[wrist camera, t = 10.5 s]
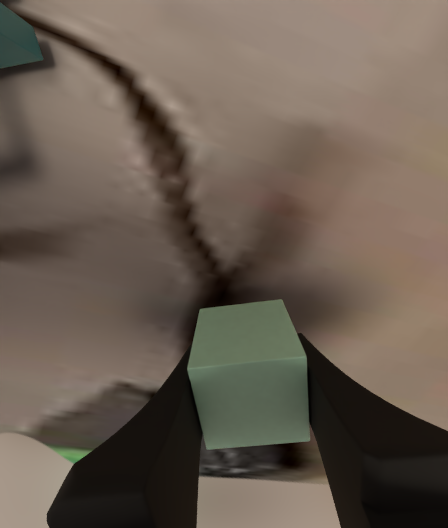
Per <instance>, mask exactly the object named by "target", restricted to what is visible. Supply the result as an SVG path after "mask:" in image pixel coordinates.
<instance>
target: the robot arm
mask: <svg viewBox="0 0 448 528" xmlns="http://www.w3.org/2000/svg"><path fill="white" fill-rule="evenodd" d="M297 335H298V337H299V340H300V342H301V344H302V347H303V349H304V351H305V354H306V356H307V376H308V401H309V422H310V425H311V427H312V430H313V432H314V435H315V438H316V441H317V444H318V447H319V451H320V454H321V457H322V461H323V464H324V468H325V471H326V475H327V478H328V482H329V485H330V489H331V492H332V496H333V500H334V503H335V507H336V511H337V514H338V518H339V521H340V525H341V528H448V431H446V430H444V429H442V428H439V427H437V426H435V425H433V424H431V423H428V422H426V421H424V420H422V419H419V418H417V417H415V416H413V415H411V414H409V413H407V412H405V411H403V410H402V409H400V408H398V407H396V406H394V405H392V404H390V403H389V402H387V401H385V400H383V399H382V398H380V397H378V396H377V395H375V394H373V393H372V392H370V391H369V390H367V389H366V388H364V387H363V386H361V385H360V384H358V383H357V382H355V381H354V380H353V379H351V378H350V377H349V376H347V375H346V374H345V373H343V372H342V371H341V370H340V369H339V368H337V367H336V366H335V365H334V364H333V363H331V362H330V361H329V360H328V359H327V358H326V357H325V356H324V355H323V354H321V353H320V352H319V351H318V350H317V349H316V348H315V347H314V346H313V345H312V344H311V343H310V342H309V341H308V340H307V339H306V338H305V336H304V335H303V334H301V333H298V334H297ZM191 349H192V345H190V346H189V348H188V349H187V351H186V352H185V354H184V355H183V357H182V359H181V360H180V362H179V363H178V365H177V366H176V368H175V369H174V370H173V372H172V373H171V375H170V376H169V377H168V379H167V380H166V381H165V383H164V384H163V385H162V386H161V388H160V389H159V390H158V392H157V393H156V394H155V395H154V396H153V397H152V399H151V400H150V401H149V402H148V403H147V404H146V405H145V406H144V407H143V408H142V409H141V410H140V411H139V412H138V413H137V414H136V415H135V416H134V417H133V418H132V419H131V420H130V421H129V422H128V423H127V424H125V425H124V426H123V427H122V428H121V429H120V430H119V431H117V432H116V433H115V434H114V435H113V436H111V437H110V438H109V439H108V440H106V441H105V442H104V443H103V444H101V445H100V446H99V447H97V448H96V449H94V450H93V451H92V452H90V453H89V454H87V455H86V456H85V457H83V458H82V459H81V460H79V461H78V462H76V463H75V464H74V465H73V466H72V468H71V470H70V471H69V473H68V475H67V476H66V479H65V480H64V482H63V484H62V486H61V488H60V490H59V492H58V494H57V496H56V498H55V499H54V501H53V503H52V505H51V507H50V509H49V511H48V513H47V523H48V526H49V528H196V524H197V499H198V478H199V461H200V448H201V440H202V433H203V432H202V428H201V424H200V420H199V416H198V411H197V407H196V403H195V399H194V395H193V391H192V387H191V383H190V379H189V374H188V370H187V367H188V363H189V358H190V353H191Z"/></svg>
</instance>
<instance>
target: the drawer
mask: <svg viewBox="0 0 448 528" xmlns="http://www.w3.org/2000/svg"><path fill="white" fill-rule="evenodd" d="M42 60H43V56H42V53H41V50H40V47H39V44H38V41H37V38H36V34H35V31H34V28H33V27H32V26H31V25H30V24H28V23H27V22H26V21H24V20H23V19H22V18H20V17H19V16H18V15H16V14H15V13H14V12H12V11H11V10H10V9H8V8H7V7H6V6H4V5H3V4H2V3H0V68H6V67H11V66H16V65H21V64H26V63H31V62H36V61H42Z"/></svg>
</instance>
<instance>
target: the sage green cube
mask: <svg viewBox="0 0 448 528" xmlns="http://www.w3.org/2000/svg"><path fill="white" fill-rule="evenodd" d="M187 370H188V374H189V379H190V383H191V387H192V391H193V395H194V399H195V403H196V407H197V411H198V416H199V420H200V424H201V428H202V432H203V436H204V440H205V444H206V448H207V449H220V448H232V447H244V446H256V445H268V444H280V443H292V442H304V441H310V426H309V401H308V376H307V356H306V354H305V351H304V349H303V347H302V344H301V342H300V340H299V337H298V335H297V333H296V330H295V328H294V326H293V324H292V321H291V319H290V317H289V314H288V312H287V310H286V307H285V305H284V303H283V300H282V299H278V300H270V301H262V302H253V303H245V304H237V305H228V306H220V307H212V308H203V309H200V311H199V315H198V320H197V325H196V330H195V334H194V339H193V344H192V349H191V353H190V358H189V363H188V367H187Z"/></svg>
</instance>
